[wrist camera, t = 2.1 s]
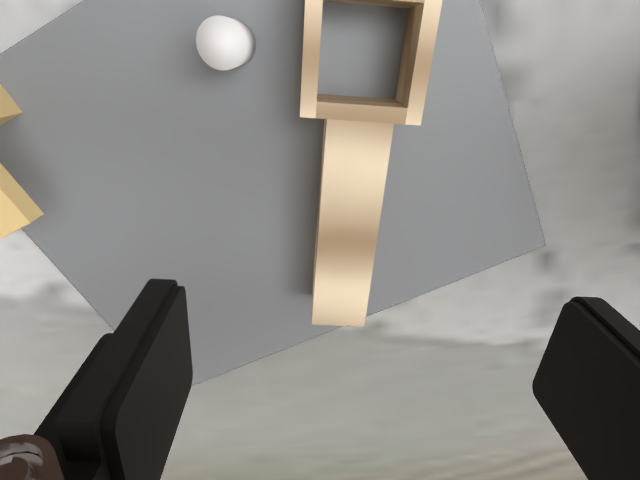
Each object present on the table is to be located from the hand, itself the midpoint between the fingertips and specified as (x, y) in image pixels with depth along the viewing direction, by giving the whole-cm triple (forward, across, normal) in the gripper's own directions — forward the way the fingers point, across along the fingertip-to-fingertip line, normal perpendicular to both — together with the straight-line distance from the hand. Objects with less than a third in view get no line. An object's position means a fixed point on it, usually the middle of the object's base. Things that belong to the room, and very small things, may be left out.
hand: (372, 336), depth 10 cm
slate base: (+14, +4, +1) cm, 15 cm away
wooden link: (+13, -1, -1) cm, 13 cm away
